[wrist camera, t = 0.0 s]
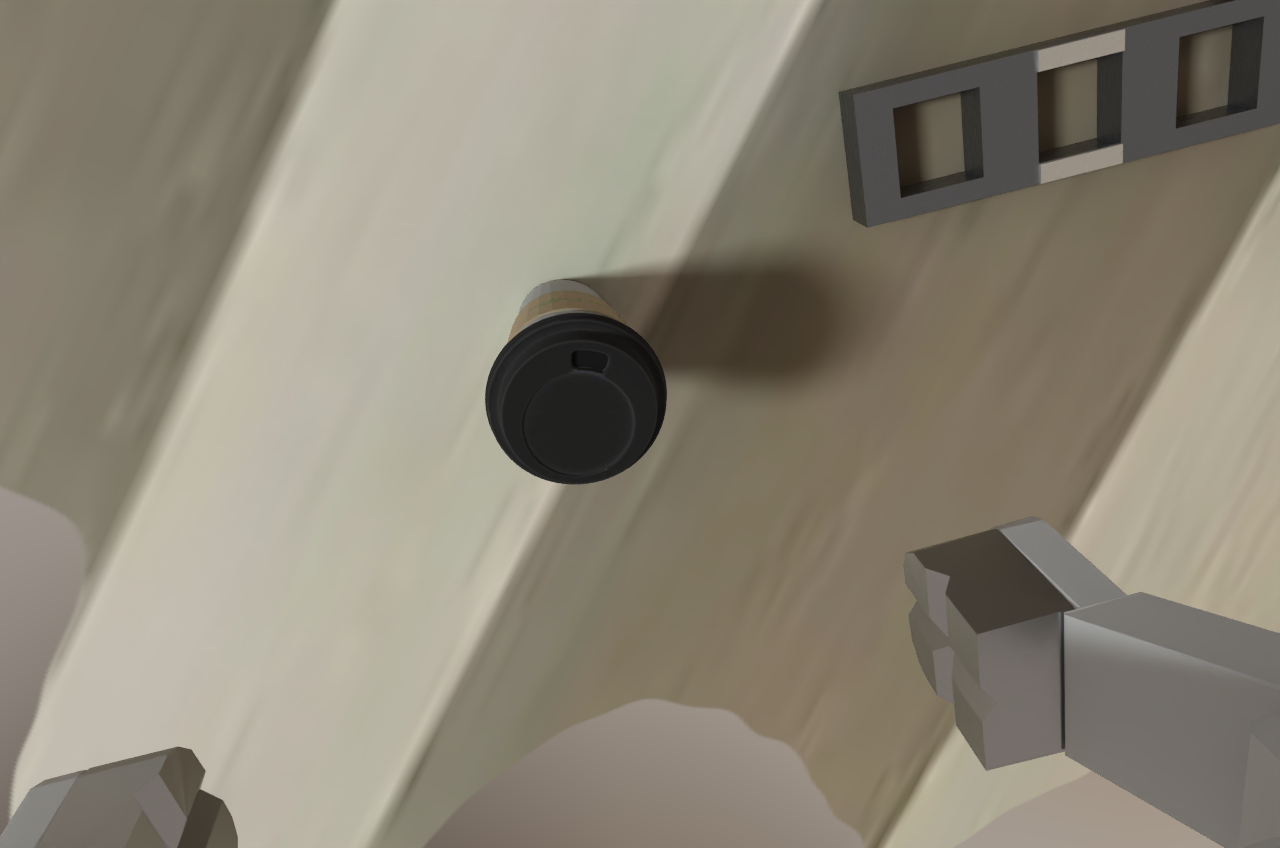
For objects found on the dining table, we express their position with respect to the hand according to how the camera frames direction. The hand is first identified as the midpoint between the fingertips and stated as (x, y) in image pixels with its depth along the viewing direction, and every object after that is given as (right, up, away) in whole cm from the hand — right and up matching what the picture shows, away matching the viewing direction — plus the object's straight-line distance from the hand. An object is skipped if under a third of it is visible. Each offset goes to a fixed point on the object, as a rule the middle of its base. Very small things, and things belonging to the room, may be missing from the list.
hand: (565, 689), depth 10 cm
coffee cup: (-4, +10, +48) cm, 50 cm away
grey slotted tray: (+27, +23, +47) cm, 59 cm away
